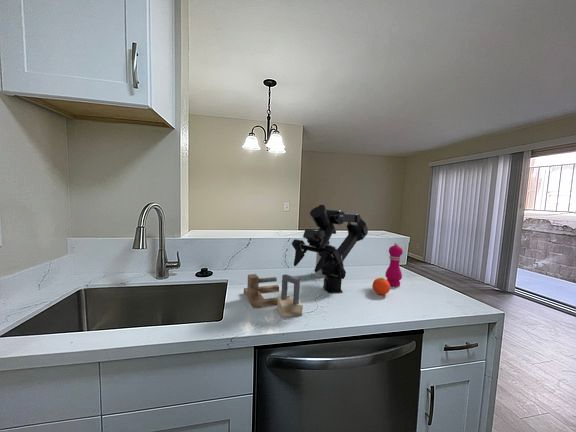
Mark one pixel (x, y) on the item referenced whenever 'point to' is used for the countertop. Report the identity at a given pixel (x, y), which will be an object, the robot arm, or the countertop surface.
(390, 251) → the pepper mill
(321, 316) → the countertop surface
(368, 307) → the countertop surface
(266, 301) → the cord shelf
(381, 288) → the clementine
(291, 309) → the oak block
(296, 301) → the gray arch
